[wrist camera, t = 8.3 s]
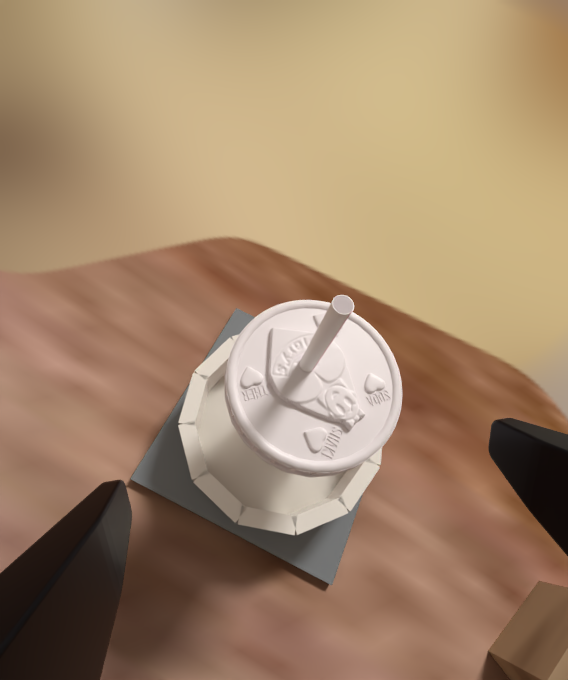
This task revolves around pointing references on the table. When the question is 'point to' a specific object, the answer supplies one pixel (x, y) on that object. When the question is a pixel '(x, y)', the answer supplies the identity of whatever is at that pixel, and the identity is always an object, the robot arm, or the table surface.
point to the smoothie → (312, 387)
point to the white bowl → (256, 465)
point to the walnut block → (536, 637)
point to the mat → (176, 485)
